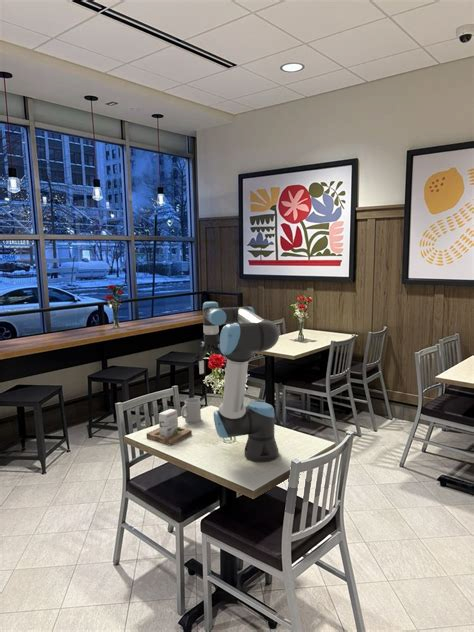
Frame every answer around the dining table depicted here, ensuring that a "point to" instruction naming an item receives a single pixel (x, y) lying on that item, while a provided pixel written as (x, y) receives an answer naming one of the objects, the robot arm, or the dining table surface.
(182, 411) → the mug
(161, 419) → the ink box
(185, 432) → the tray
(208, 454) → the dining table surface
